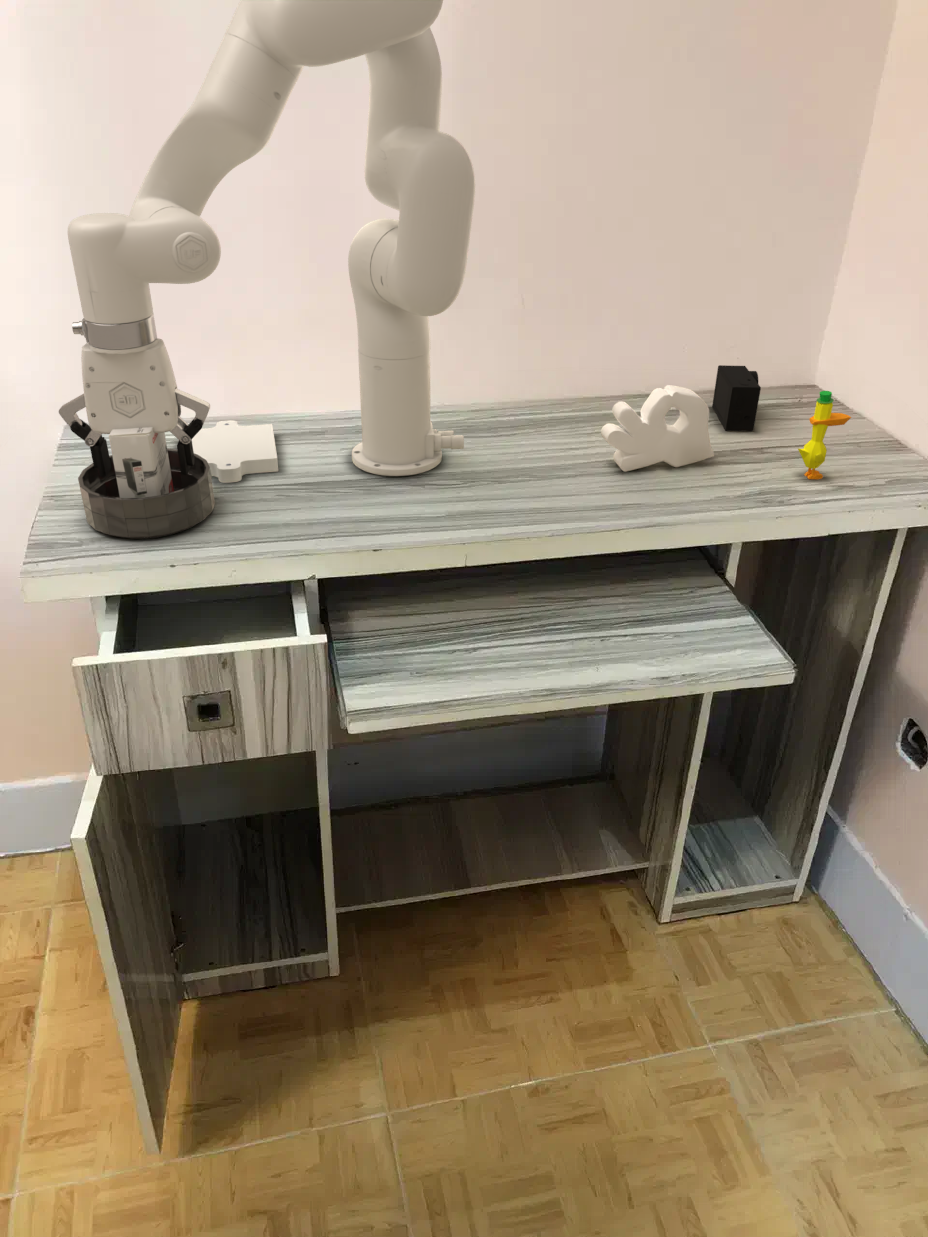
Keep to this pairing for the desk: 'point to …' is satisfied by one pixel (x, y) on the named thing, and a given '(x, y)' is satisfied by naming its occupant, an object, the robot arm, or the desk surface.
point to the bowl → (148, 502)
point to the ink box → (141, 462)
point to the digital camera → (736, 397)
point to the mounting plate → (236, 449)
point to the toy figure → (820, 434)
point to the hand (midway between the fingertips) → (146, 471)
